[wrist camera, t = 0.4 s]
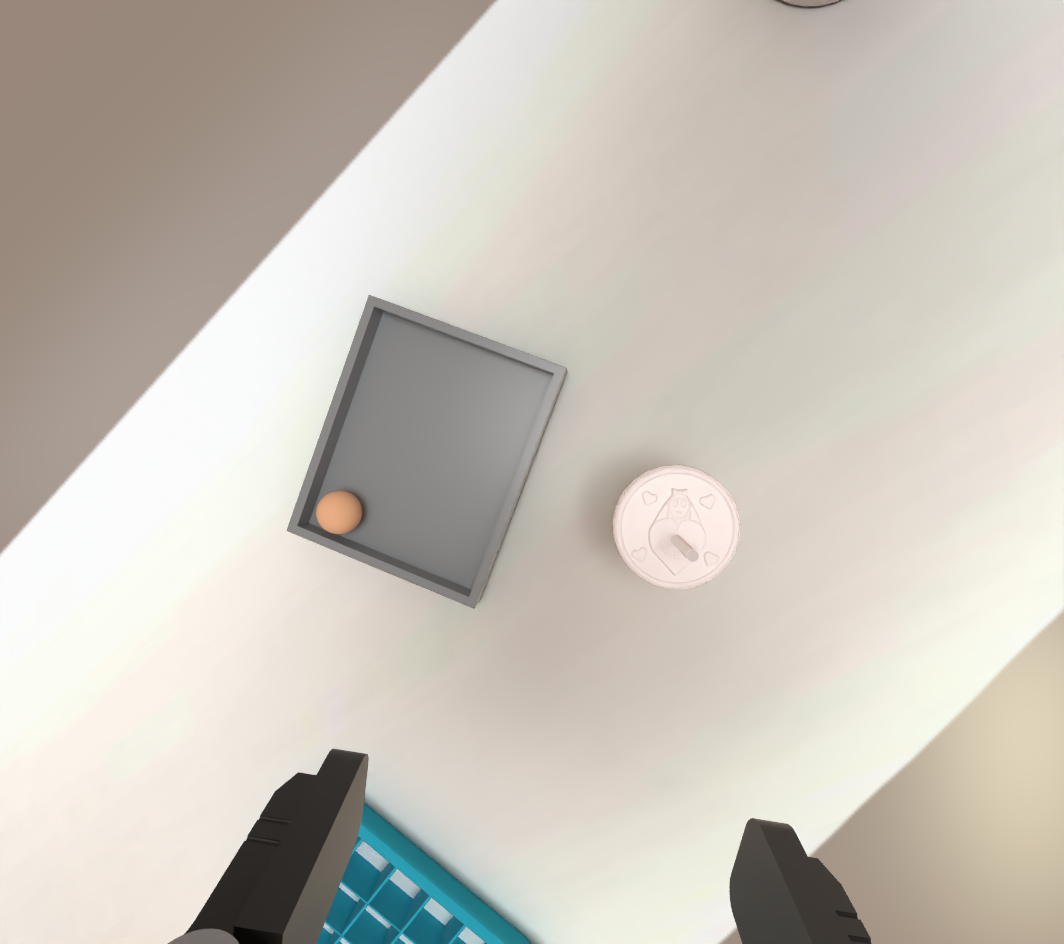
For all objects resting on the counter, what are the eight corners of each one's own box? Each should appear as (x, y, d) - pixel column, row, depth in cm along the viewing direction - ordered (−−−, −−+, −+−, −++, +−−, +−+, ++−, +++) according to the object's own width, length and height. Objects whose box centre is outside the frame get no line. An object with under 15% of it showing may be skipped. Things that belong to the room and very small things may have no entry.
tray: (380, 302, 38) (368, 294, 36) (567, 372, 37) (566, 367, 35) (301, 526, 40) (286, 530, 38) (479, 600, 39) (474, 608, 37)
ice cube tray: (343, 768, 41) (323, 793, 38) (557, 945, 39) (554, 985, 36) (256, 880, 42) (231, 913, 39) (462, 1055, 41) (453, 1103, 38)
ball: (337, 482, 39) (316, 485, 36) (375, 498, 39) (357, 502, 36) (323, 521, 39) (301, 527, 36) (361, 537, 39) (342, 544, 36)
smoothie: (604, 551, 38) (613, 610, 24) (609, 459, 37) (621, 464, 23) (698, 557, 37) (766, 622, 23) (704, 463, 37) (776, 472, 23)
